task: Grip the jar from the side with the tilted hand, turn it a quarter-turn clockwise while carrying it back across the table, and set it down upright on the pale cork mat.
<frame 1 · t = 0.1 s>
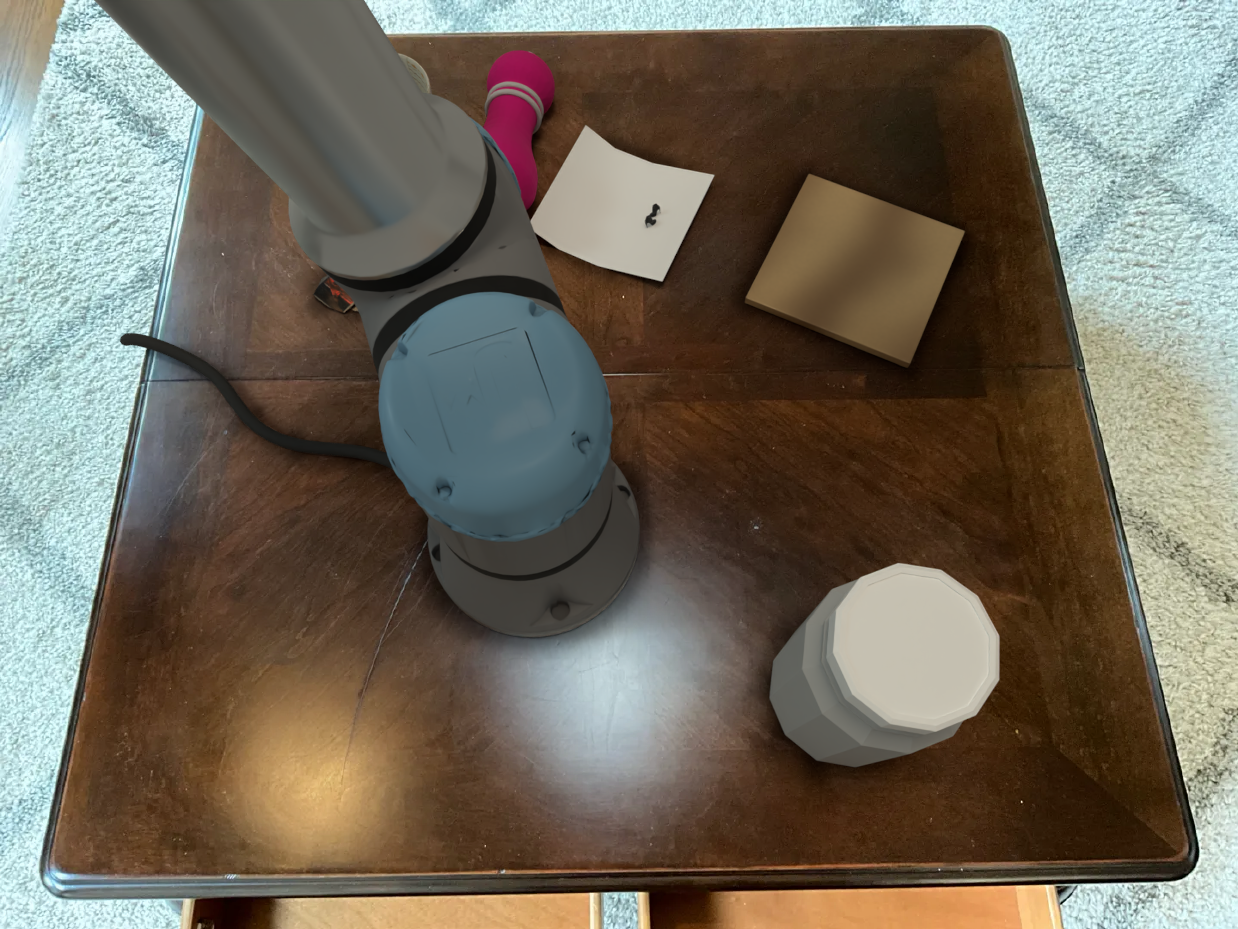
mug: (402, 198, 77), on the table
jar: (837, 693, 61), on the table
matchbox: (349, 289, 73), on the table
pepper mill: (481, 222, 71), point 4 cm above the table
cork mat: (854, 269, 73), on the table
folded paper: (623, 212, 76), on the table
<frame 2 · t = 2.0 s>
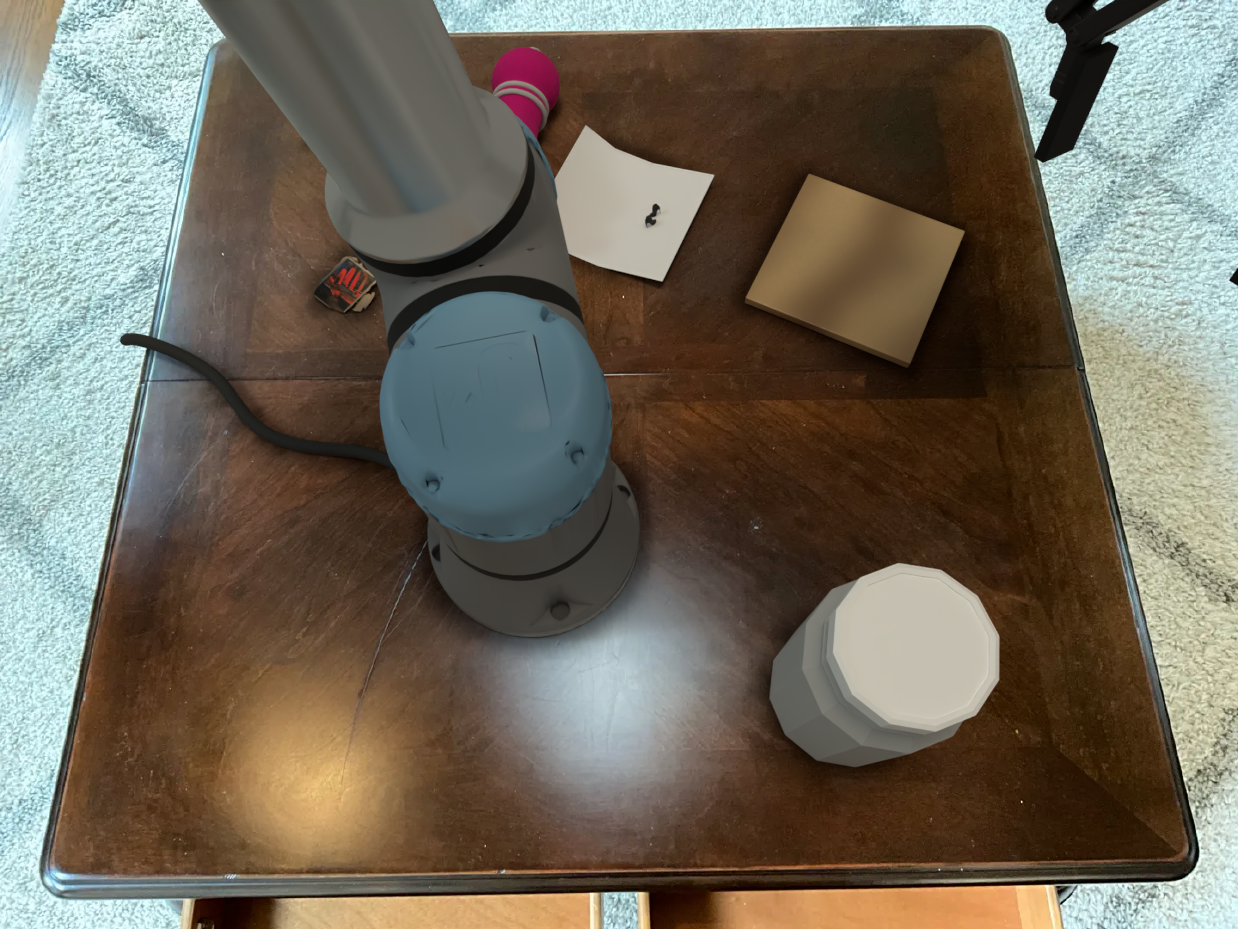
hand: (1144, 210, 51), 20 cm above the table, tool tilted 15°, fingers open, 13 cm apart
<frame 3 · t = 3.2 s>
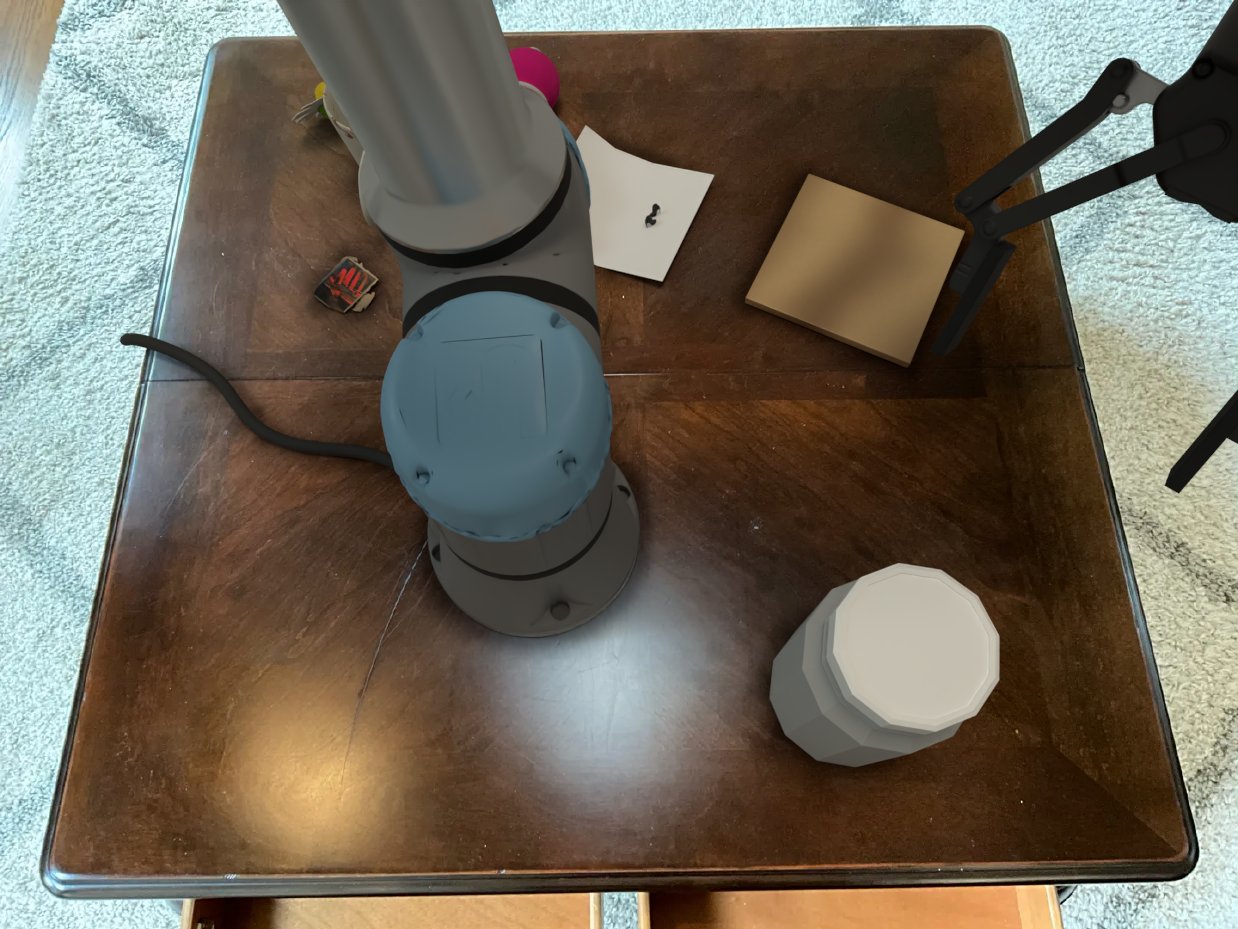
hand: (1052, 412, 48), 18 cm above the table, tool tilted 35°, fingers open, 13 cm apart
nothing on the table moved.
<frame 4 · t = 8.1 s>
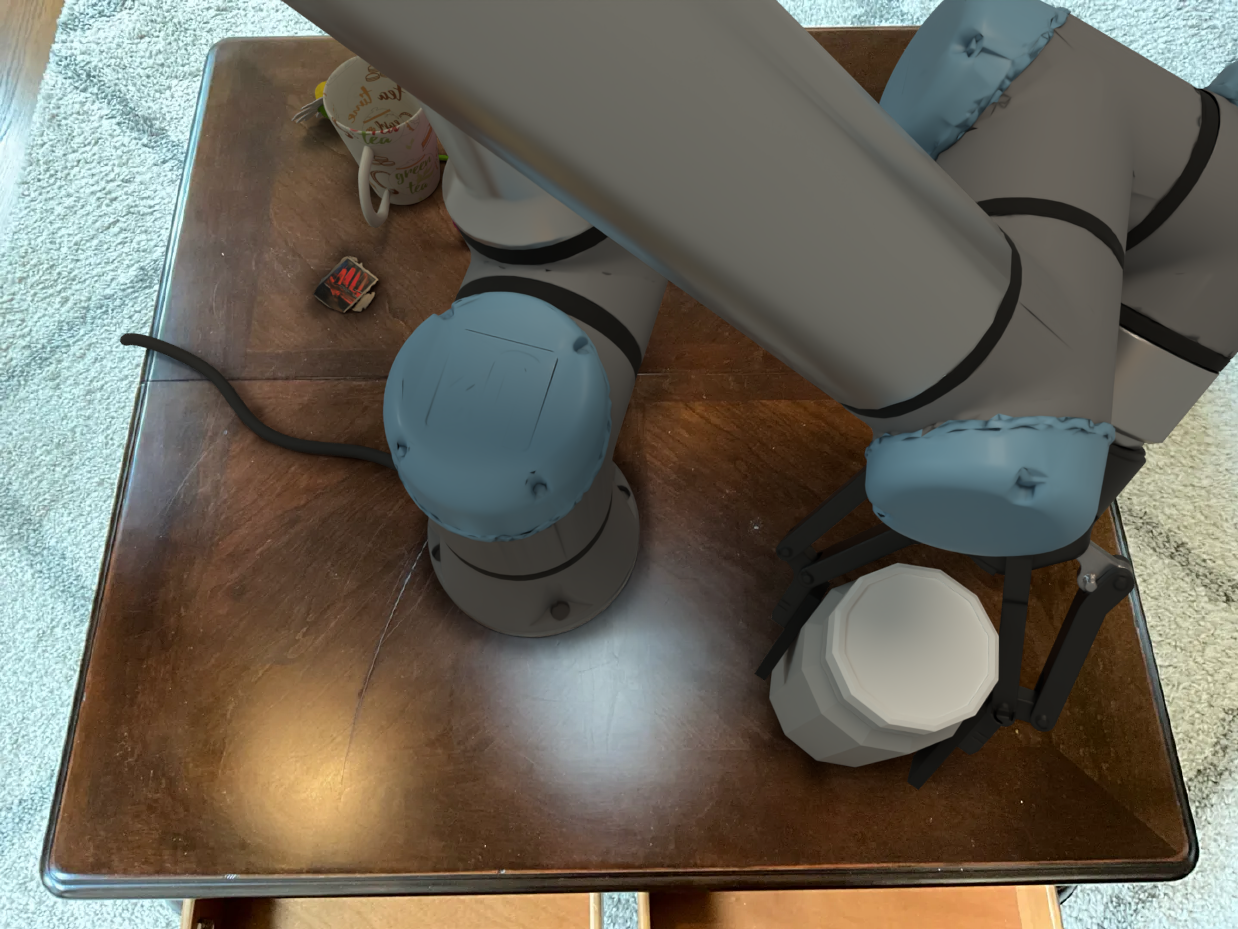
hand: (839, 718, 52), 8 cm above the table, tool tilted 45°, fingers closed on jar, 10 cm apart
jar: (836, 693, 61), on the table, touching gripper
pepper mill: (488, 226, 71), point 4 cm above the table, touching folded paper
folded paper: (623, 212, 76), on the table, touching pepper mill
everything else where it was.
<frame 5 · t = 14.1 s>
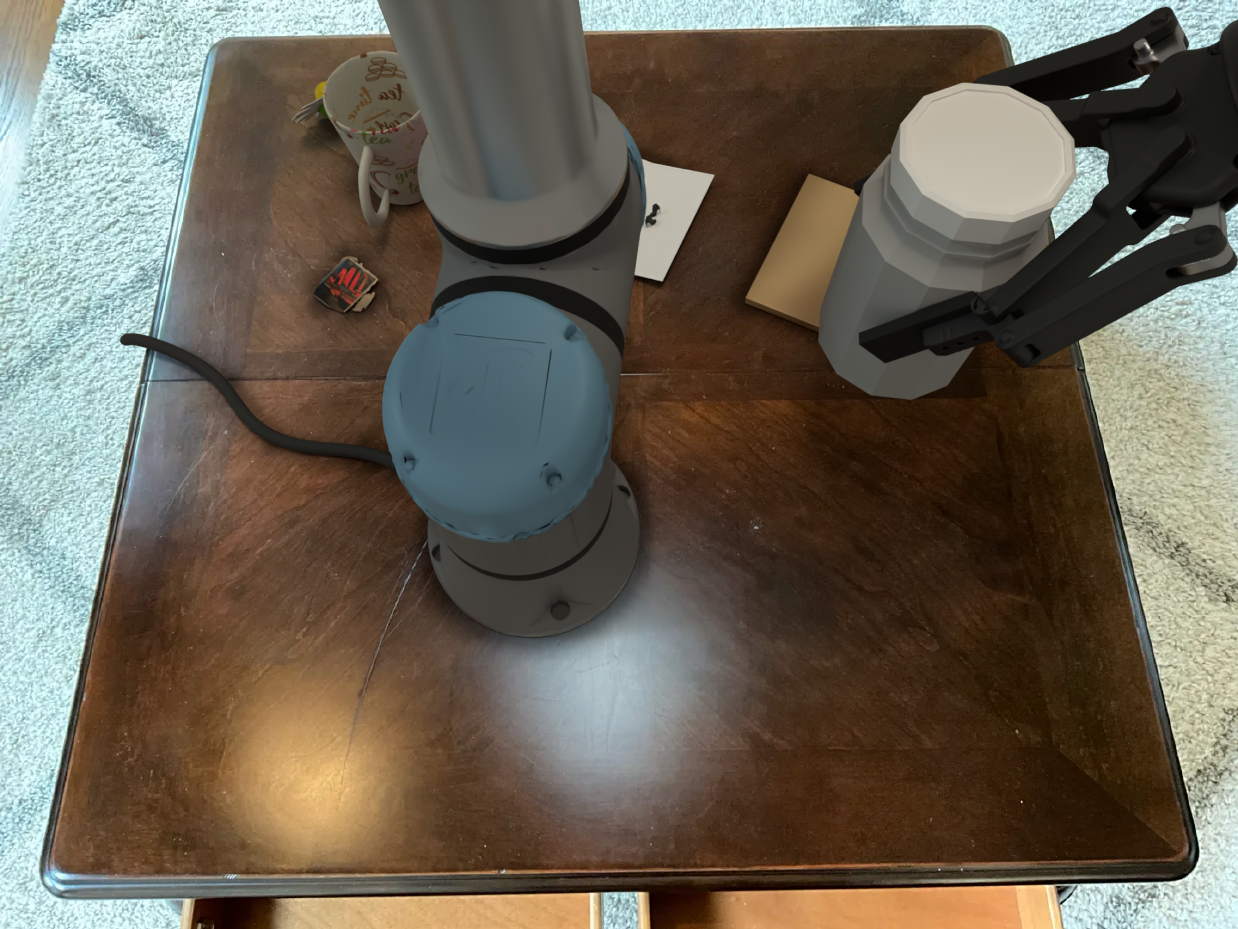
hand: (869, 270, 51), 19 cm above the table, tool tilted 45°, fingers closed on jar, 10 cm apart
jar: (887, 342, 58), point 11 cm above the table, touching gripper
everything else where it was.
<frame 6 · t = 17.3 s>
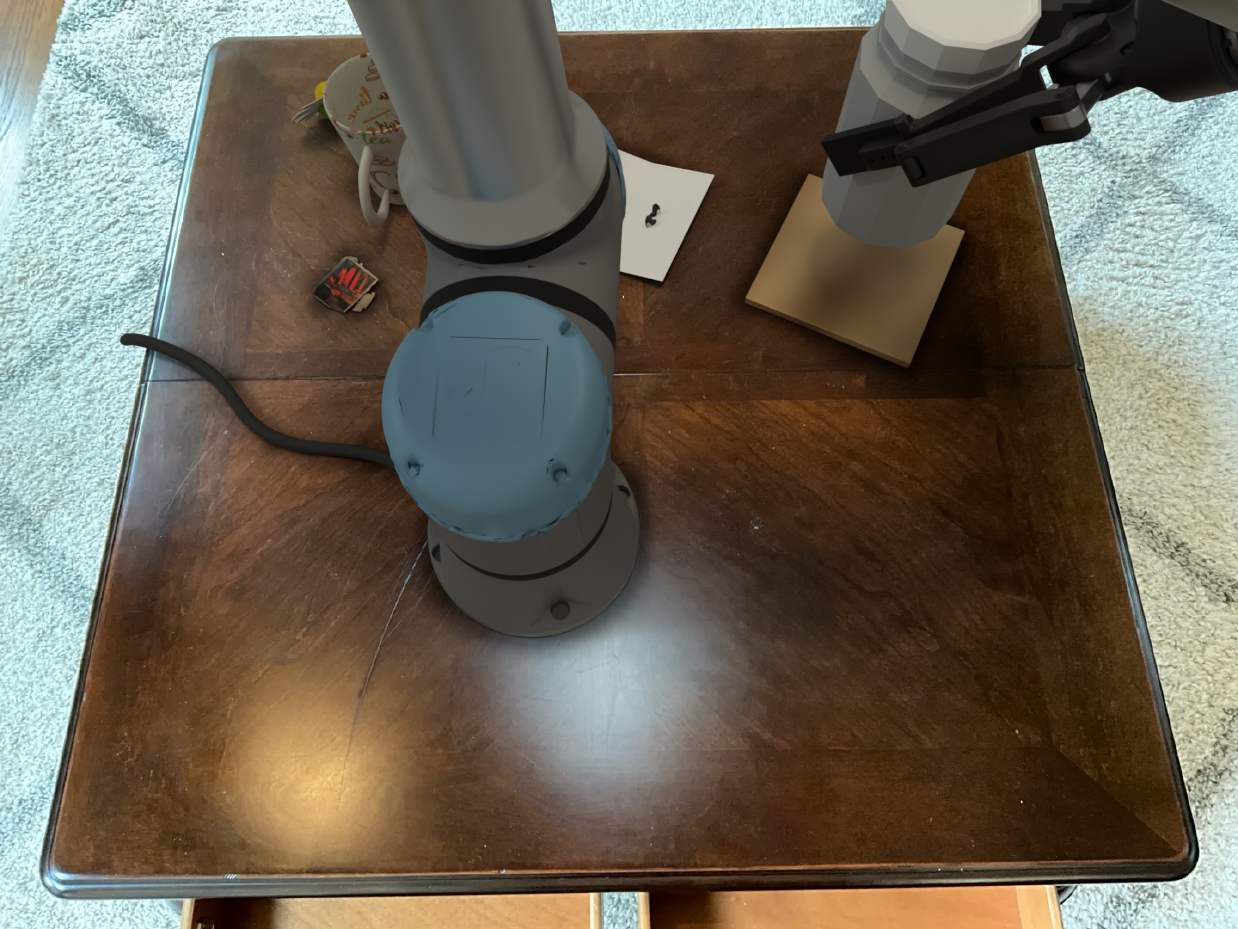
hand: (872, 106, 59), 16 cm above the table, tool tilted 45°, fingers closed on jar, 10 cm apart
jar: (882, 205, 66), point 8 cm above the table, touching gripper
everything else where it was.
when the fingers open (8 cm above the table, at t = 19.9 s): jar stays where it is, resting on cork mat.
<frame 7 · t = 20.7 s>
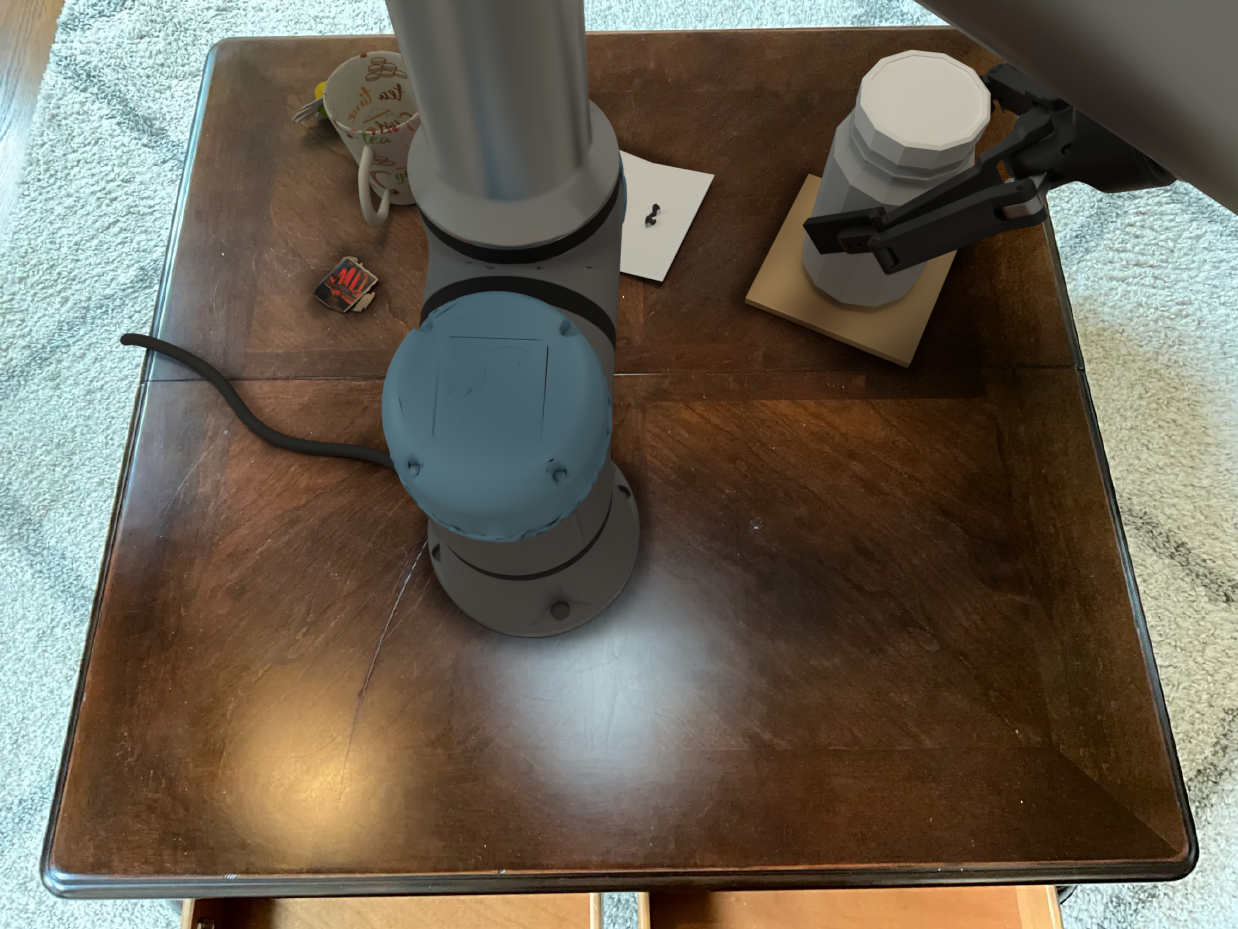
hand: (862, 173, 64), 10 cm above the table, tool tilted 45°, fingers open, 13 cm apart
jar: (857, 265, 73), point 1 cm above the table, touching cork mat
pepper mill: (488, 226, 71), point 4 cm above the table
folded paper: (623, 212, 76), on the table
everything else where it was.
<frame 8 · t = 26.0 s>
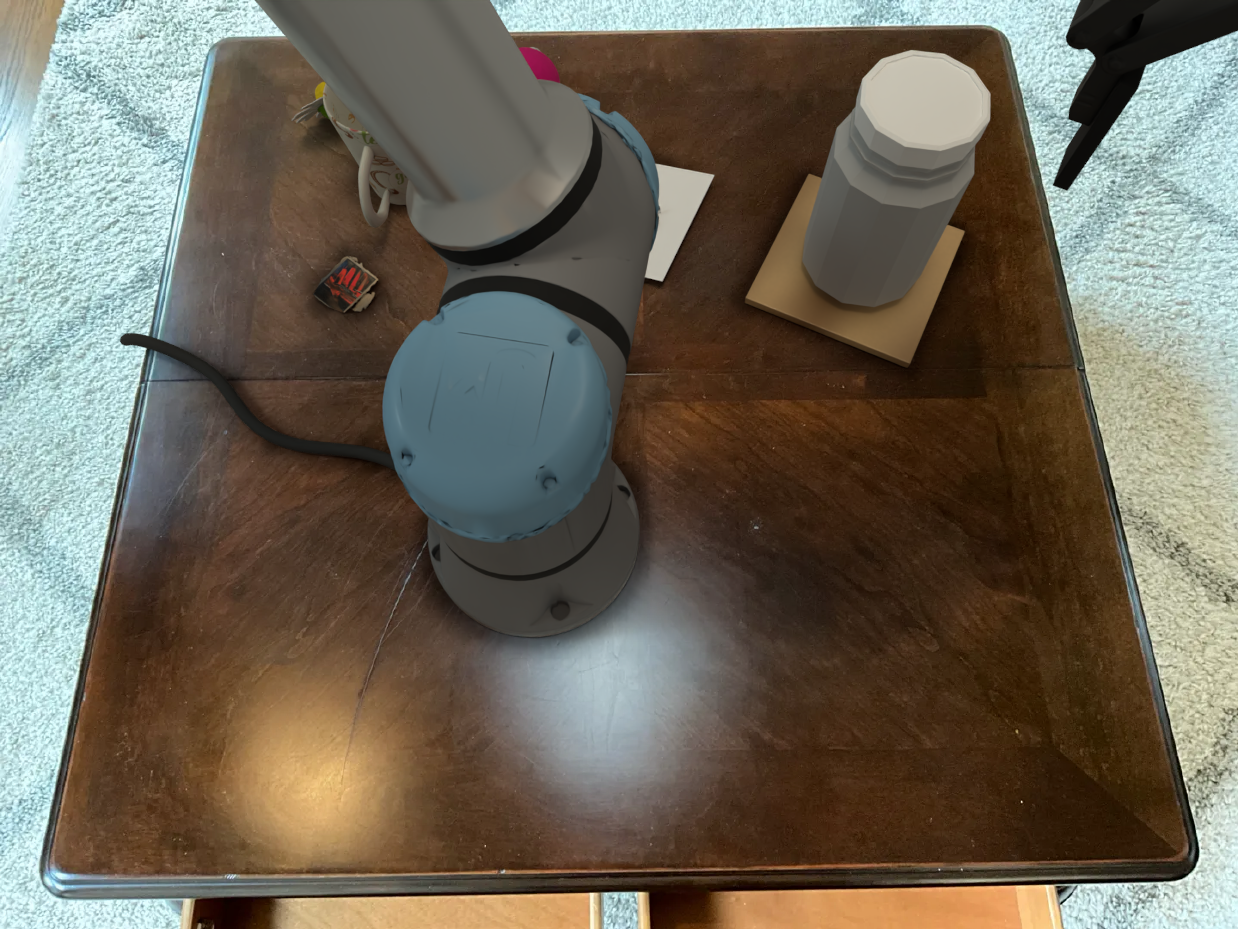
hand: (1205, 217, 43), 27 cm above the table, tool pointing down, fingers open, 13 cm apart
pepper mill: (488, 226, 71), point 4 cm above the table, touching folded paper
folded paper: (623, 212, 76), on the table, touching pepper mill
everything else where it was.
at the end: jar inside the target area on the cork mat (0.1 cm from its centre), point 0.6 cm above the cork mat's base; jar tilted 0°; the gripper is holding nothing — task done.
